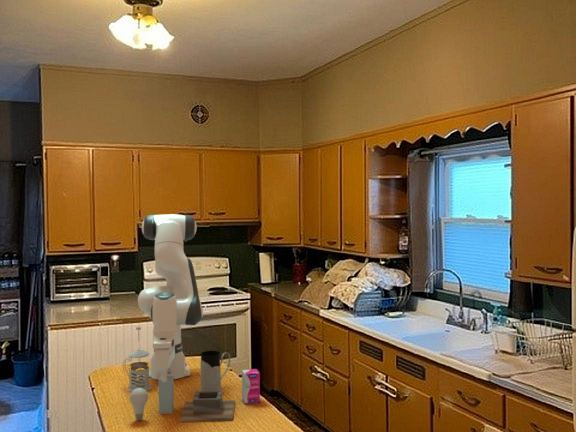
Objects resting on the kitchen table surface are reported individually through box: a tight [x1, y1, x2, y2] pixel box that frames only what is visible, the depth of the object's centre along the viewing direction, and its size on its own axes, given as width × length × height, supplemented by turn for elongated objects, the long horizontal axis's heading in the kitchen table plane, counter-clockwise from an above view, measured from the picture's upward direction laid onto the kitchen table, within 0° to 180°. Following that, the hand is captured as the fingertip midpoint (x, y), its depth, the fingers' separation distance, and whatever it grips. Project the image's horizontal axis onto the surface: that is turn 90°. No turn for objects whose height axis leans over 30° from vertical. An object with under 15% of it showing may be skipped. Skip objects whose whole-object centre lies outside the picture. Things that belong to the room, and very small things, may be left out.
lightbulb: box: [129, 388, 149, 421], centre depth 199 cm, size 6×6×11 cm
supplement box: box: [241, 368, 261, 405], centre depth 217 cm, size 6×6×12 cm
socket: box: [178, 390, 236, 423], centre depth 207 cm, size 18×18×6 cm
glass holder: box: [199, 350, 231, 392], centre depth 233 cm, size 9×14×15 cm, turn 135°
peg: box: [158, 376, 175, 415], centre depth 208 cm, size 4×4×12 cm
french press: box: [122, 325, 153, 393], centre depth 235 cm, size 10×12×25 cm
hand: (166, 377), depth 207 cm, fingers open, 8 cm apart
